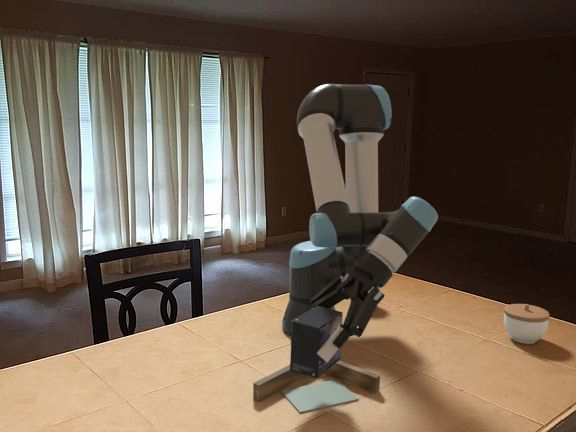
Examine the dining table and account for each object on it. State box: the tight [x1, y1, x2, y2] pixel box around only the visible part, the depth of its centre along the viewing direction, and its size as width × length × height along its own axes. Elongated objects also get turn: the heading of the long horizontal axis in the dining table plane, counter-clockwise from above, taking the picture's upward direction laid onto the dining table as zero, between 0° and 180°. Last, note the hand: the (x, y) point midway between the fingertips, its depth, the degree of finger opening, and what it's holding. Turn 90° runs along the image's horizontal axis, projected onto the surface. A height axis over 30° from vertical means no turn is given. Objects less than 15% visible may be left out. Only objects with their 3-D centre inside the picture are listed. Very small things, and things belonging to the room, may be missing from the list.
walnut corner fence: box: [252, 360, 381, 402], centre depth 113 cm, size 17×20×4 cm
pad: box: [280, 378, 359, 414], centre depth 113 cm, size 9×13×1 cm
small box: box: [289, 306, 343, 379], centre depth 109 cm, size 11×6×10 cm, turn 149°
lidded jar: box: [503, 303, 550, 345], centre depth 142 cm, size 11×11×9 cm
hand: (308, 346), depth 109 cm, fingers closed on small box, 10 cm apart
